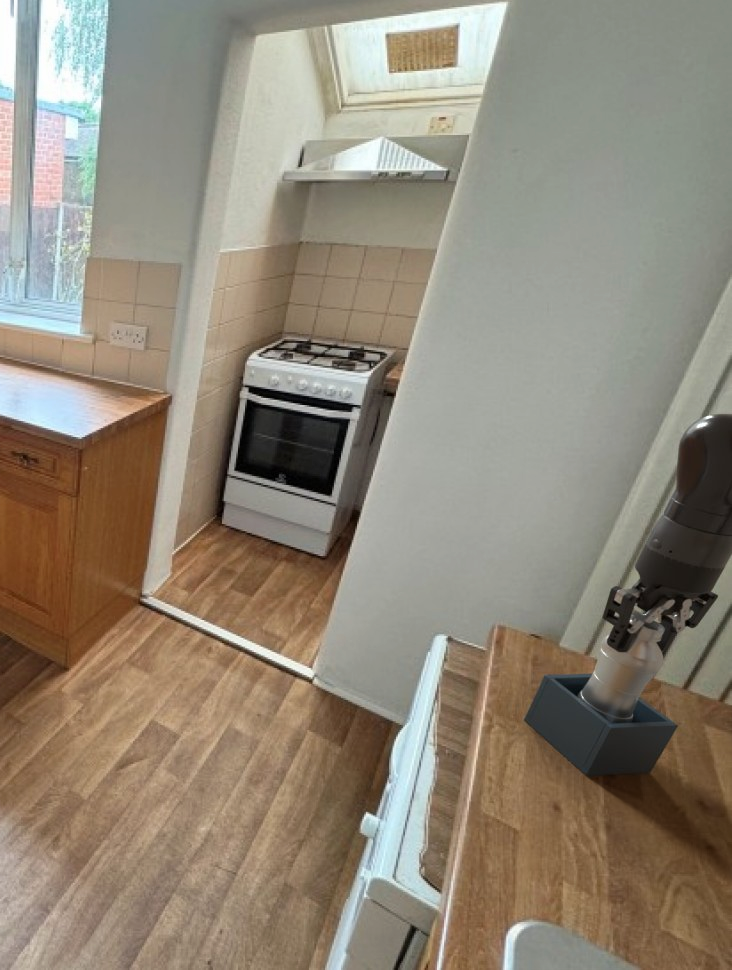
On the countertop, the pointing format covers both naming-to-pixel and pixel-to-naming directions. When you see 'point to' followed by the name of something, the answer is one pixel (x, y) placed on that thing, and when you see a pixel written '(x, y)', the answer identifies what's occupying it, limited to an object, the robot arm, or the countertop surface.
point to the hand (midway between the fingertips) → (635, 647)
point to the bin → (597, 729)
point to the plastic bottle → (624, 674)
